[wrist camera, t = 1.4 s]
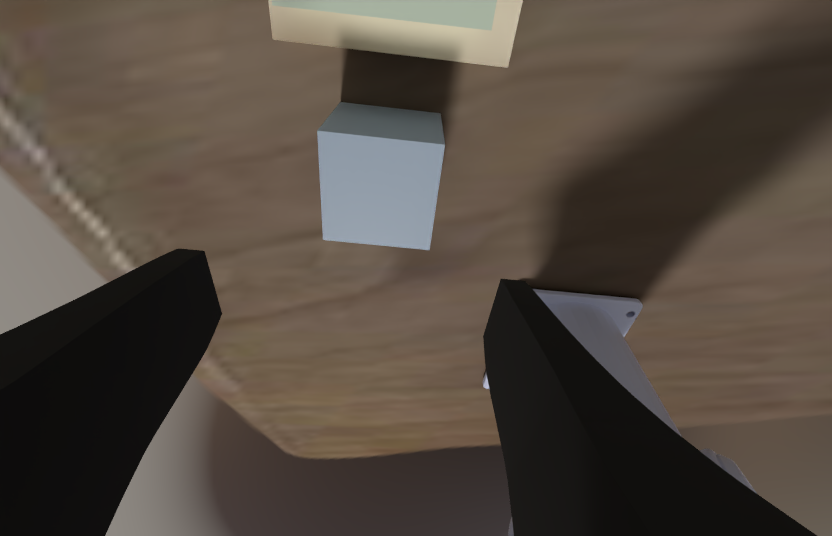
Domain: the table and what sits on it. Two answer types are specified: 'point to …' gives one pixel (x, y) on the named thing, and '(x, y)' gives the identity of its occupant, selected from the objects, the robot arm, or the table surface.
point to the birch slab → (401, 34)
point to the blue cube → (380, 175)
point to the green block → (409, 10)
